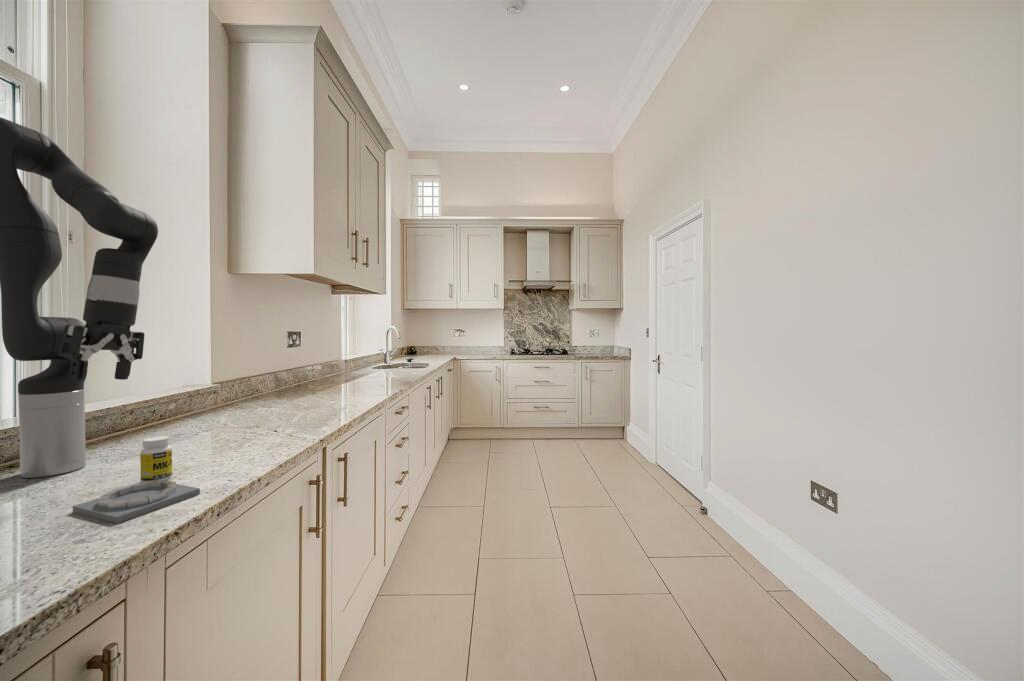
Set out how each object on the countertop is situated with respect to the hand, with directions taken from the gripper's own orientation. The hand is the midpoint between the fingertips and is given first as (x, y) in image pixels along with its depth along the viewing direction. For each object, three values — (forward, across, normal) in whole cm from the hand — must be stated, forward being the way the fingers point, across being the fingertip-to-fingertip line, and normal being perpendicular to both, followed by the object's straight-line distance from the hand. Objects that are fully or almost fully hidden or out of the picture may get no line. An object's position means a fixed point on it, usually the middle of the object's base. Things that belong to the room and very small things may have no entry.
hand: (100, 379), depth 79 cm
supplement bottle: (+20, -2, +12) cm, 23 cm away
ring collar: (+20, +9, +19) cm, 29 cm away
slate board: (+20, +9, +19) cm, 29 cm away
